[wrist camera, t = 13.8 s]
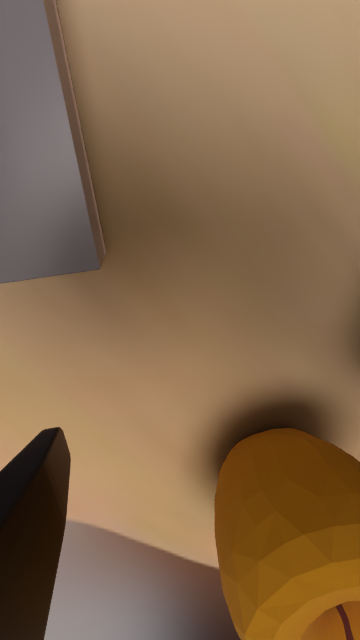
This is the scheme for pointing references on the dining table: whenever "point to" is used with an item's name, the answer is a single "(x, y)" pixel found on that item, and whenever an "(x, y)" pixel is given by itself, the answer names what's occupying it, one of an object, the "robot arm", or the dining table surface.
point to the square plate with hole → (42, 152)
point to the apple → (290, 537)
